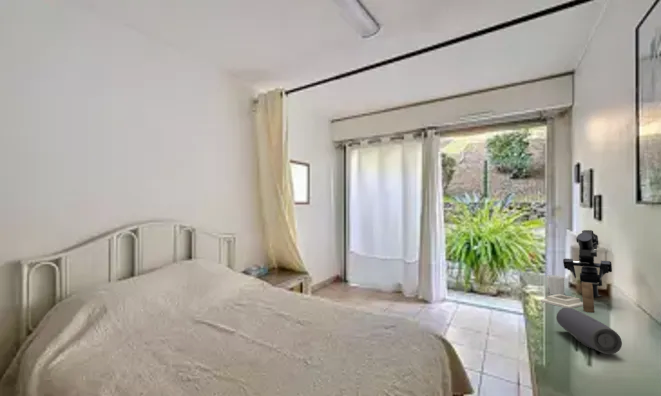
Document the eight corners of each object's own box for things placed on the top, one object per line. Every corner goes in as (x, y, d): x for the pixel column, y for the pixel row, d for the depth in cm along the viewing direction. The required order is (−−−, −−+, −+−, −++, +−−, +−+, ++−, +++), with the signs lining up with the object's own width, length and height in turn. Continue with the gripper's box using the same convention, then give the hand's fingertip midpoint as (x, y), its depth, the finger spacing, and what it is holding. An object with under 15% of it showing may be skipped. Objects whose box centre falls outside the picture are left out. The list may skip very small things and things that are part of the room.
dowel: (586, 309, 146) (584, 282, 147) (596, 311, 142) (594, 283, 143) (581, 310, 145) (579, 282, 145) (591, 313, 141) (589, 284, 142)
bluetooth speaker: (625, 359, 97) (623, 327, 98) (592, 357, 99) (589, 326, 100) (582, 332, 120) (580, 306, 120) (555, 331, 122) (554, 305, 122)
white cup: (545, 294, 175) (544, 276, 175) (553, 292, 178) (552, 274, 179) (560, 297, 168) (559, 278, 168) (568, 295, 171) (567, 277, 172)
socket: (558, 298, 166) (557, 292, 166) (587, 305, 153) (587, 298, 153) (540, 301, 161) (540, 295, 161) (569, 308, 148) (569, 302, 148)
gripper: (562, 243, 162) (561, 266, 153) (609, 244, 149) (612, 270, 140) (564, 256, 167) (564, 280, 158) (610, 258, 154) (613, 284, 146)
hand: (587, 278), depth 150 cm, fingers open, 9 cm apart
